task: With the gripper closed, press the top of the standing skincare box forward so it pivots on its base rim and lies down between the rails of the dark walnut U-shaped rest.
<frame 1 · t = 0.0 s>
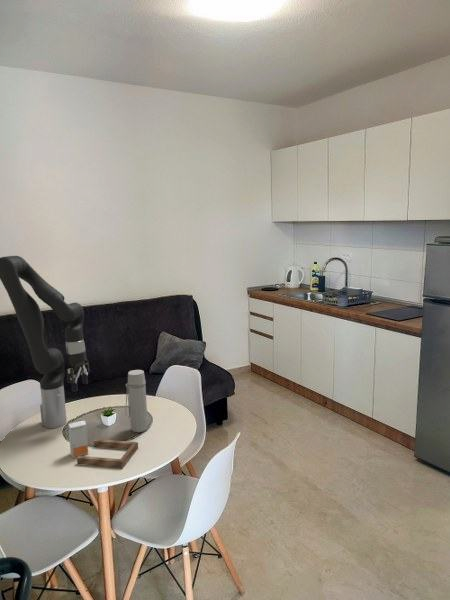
hand: (80, 387, 182), 17 cm above the table, tool pointing down, fingers open, 8 cm apart
water bottle: (137, 429, 180), on the table
skincare box: (79, 454, 161), on the table
u rest: (108, 456, 159), on the table
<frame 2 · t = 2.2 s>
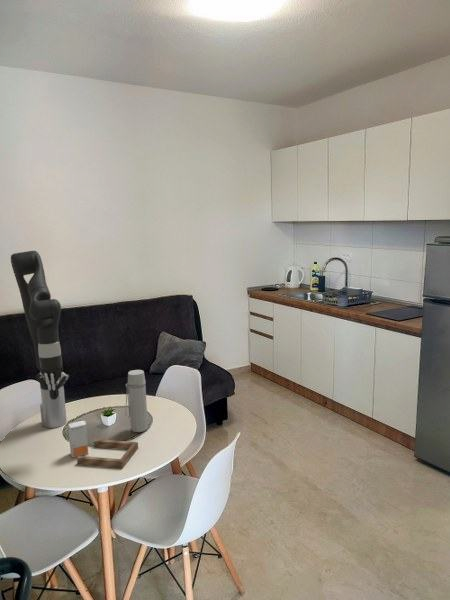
hand: (54, 398, 159), 21 cm above the table, tool pointing down, fingers closed
nothing on the table moved.
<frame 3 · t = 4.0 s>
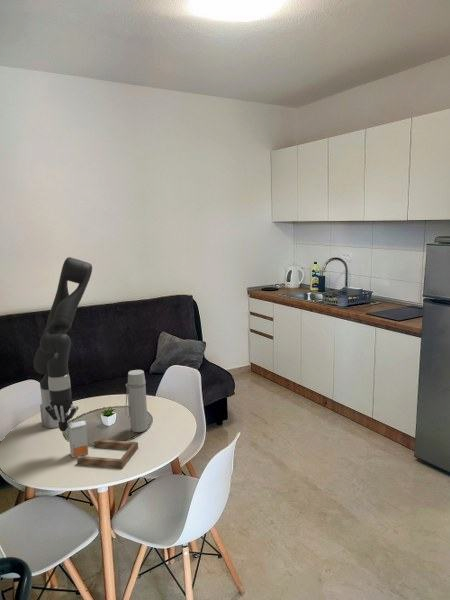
hand: (63, 430, 161), 9 cm above the table, tool pointing down, fingers closed
skincare box: (79, 454, 161), on the table, touching gripper
everything else where it was.
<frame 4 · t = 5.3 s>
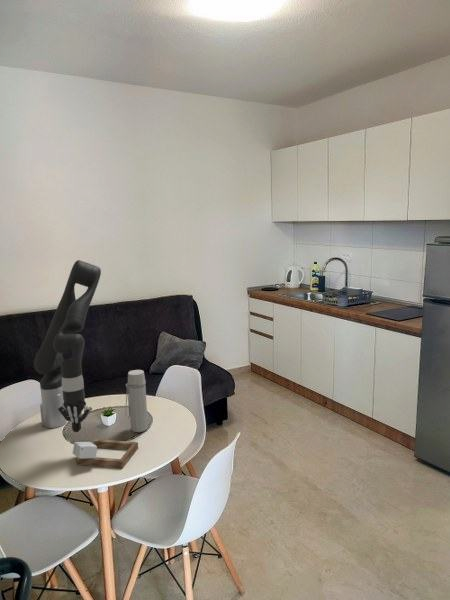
hand: (77, 431, 160), 9 cm above the table, tool pointing down, fingers closed
skincare box: (81, 447, 160), point 3 cm above the table, touching u rest
everything else where it was.
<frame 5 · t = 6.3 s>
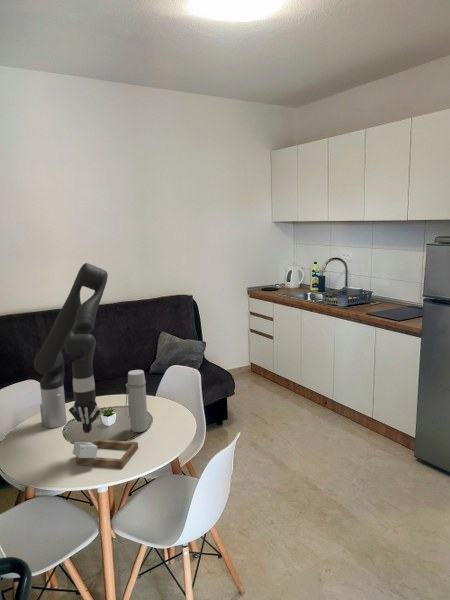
hand: (87, 432, 159), 9 cm above the table, tool pointing down, fingers closed
skincare box: (81, 448, 160), point 2 cm above the table, touching u rest
everything else where it was.
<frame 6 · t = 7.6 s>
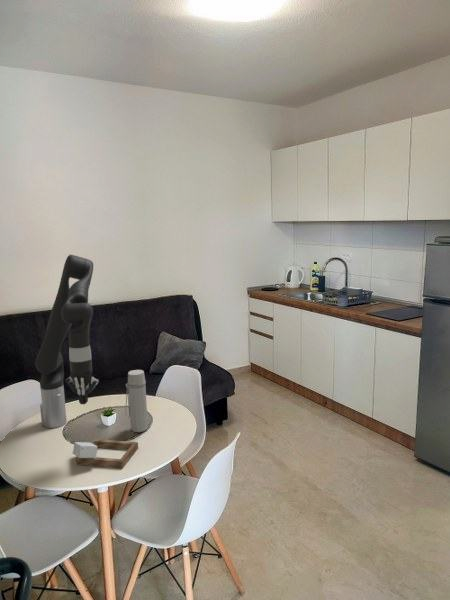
hand: (83, 403, 157), 20 cm above the table, tool pointing down, fingers closed
nothing on the table moved.
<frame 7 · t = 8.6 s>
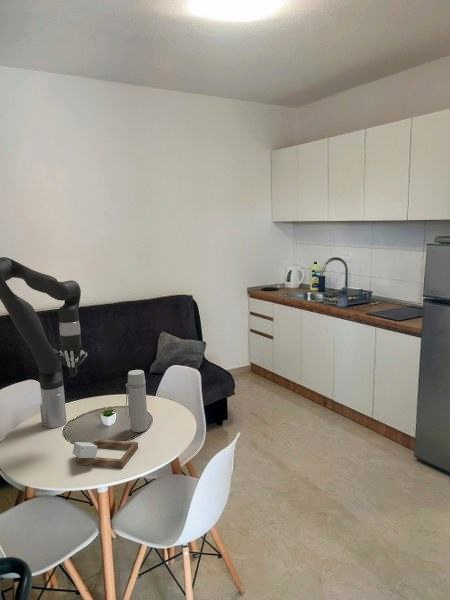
hand: (73, 375, 167), 27 cm above the table, tool pointing down, fingers closed
nothing on the table moved.
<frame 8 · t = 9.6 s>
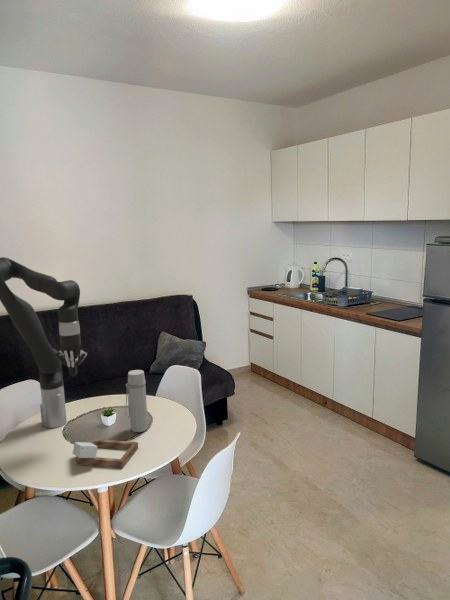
hand: (73, 375, 167), 27 cm above the table, tool pointing down, fingers closed
nothing on the table moved.
at the end: skincare box tilted 72°; skincare box inside the target area on the table beside the u rest (1.4 cm from its centre), point 2.5 cm above the table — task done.
